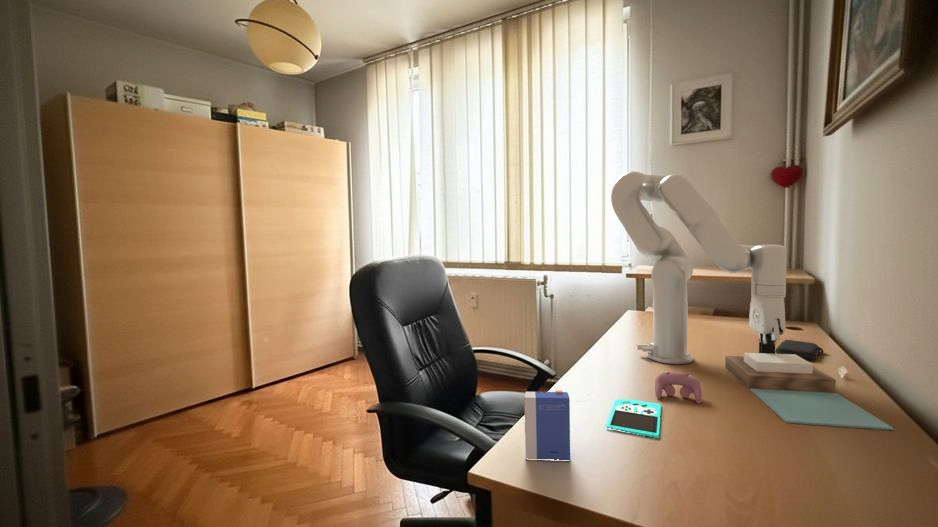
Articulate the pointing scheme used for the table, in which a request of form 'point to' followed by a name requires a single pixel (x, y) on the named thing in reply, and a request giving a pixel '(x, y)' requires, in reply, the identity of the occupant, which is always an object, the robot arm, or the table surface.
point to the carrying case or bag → (799, 349)
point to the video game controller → (677, 378)
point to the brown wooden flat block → (779, 378)
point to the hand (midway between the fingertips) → (766, 357)
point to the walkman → (547, 425)
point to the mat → (818, 409)
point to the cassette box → (778, 363)
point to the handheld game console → (635, 417)
